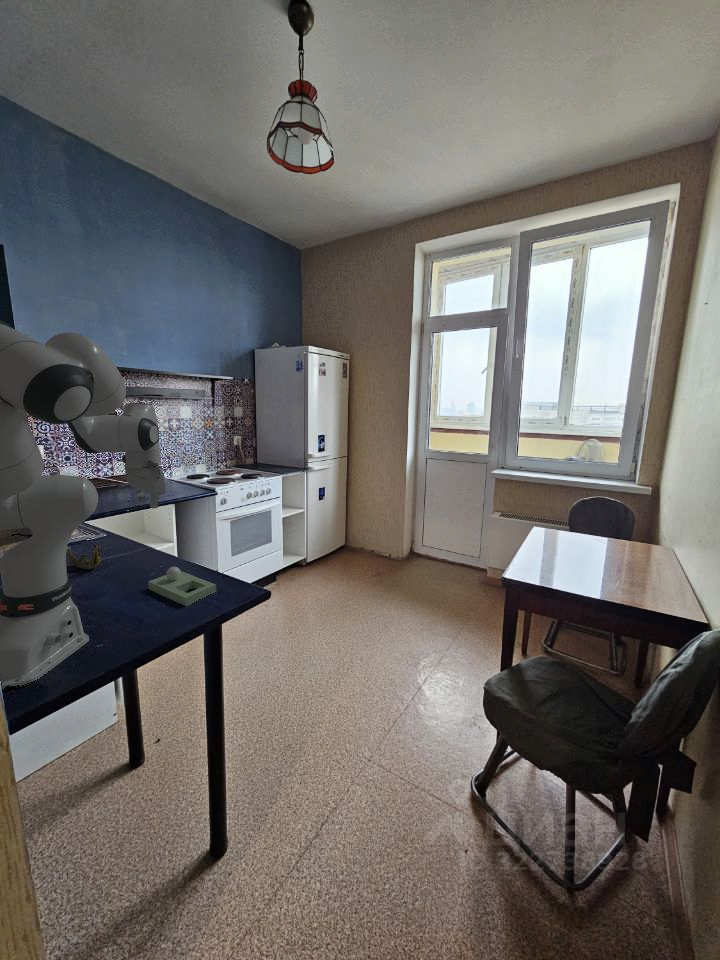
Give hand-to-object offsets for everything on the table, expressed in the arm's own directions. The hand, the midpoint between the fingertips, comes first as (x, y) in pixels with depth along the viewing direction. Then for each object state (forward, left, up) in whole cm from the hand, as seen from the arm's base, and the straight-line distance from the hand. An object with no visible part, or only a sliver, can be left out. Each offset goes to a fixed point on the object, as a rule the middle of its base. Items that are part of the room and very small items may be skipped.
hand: (147, 504), depth 116 cm
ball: (-4, -8, -20) cm, 22 cm away
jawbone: (+13, +25, -25) cm, 38 cm away
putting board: (-7, -11, -25) cm, 28 cm away
